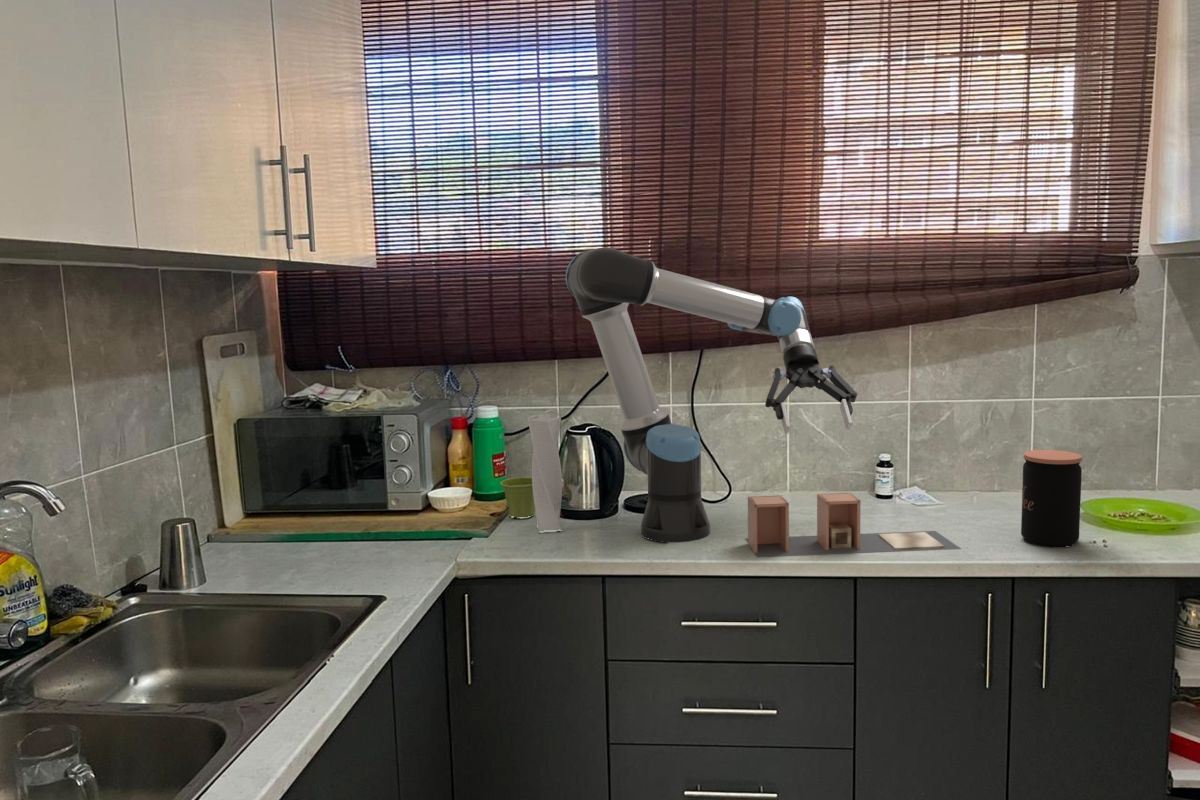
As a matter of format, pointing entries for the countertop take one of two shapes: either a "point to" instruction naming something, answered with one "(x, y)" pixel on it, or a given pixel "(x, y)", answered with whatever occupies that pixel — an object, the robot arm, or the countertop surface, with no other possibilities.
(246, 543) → the countertop surface
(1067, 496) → the coffee jar
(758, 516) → the cover
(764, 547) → the mat
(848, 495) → the cover
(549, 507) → the skyscraper
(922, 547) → the coaster
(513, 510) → the plant pot
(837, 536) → the letter cube
